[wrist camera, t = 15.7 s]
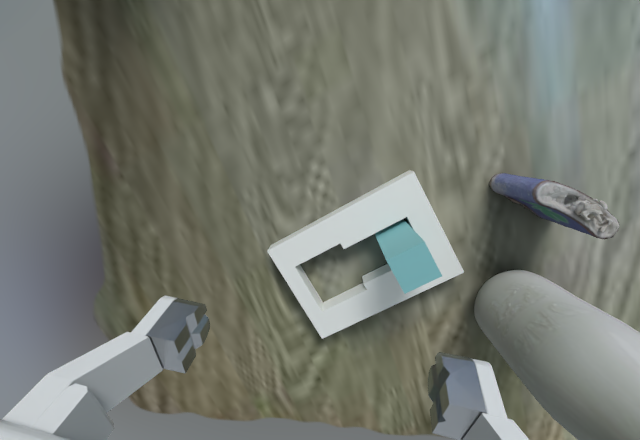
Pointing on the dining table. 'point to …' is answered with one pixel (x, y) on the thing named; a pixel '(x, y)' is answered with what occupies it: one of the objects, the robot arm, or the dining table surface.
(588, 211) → the flask
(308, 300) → the keyhole plate
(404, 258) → the key block
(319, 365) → the dining table surface
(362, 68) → the dining table surface
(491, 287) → the white bottle
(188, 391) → the dining table surface
